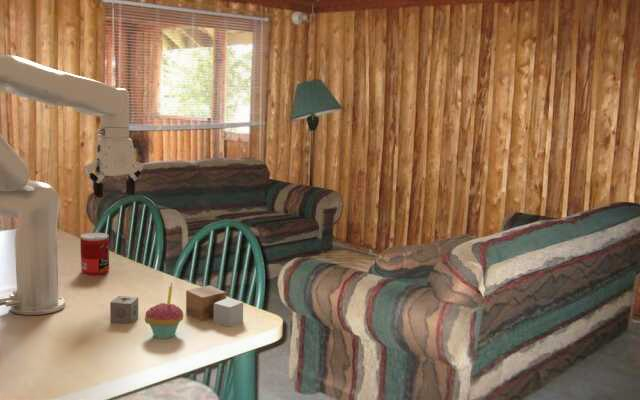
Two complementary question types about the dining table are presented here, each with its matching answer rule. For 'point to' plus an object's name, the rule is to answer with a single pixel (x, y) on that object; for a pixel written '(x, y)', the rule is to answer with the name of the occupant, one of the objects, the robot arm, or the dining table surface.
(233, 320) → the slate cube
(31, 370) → the dining table surface
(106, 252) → the canned food
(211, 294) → the walnut block
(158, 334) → the cupcake
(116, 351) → the dining table surface
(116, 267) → the dining table surface
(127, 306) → the dice cube
